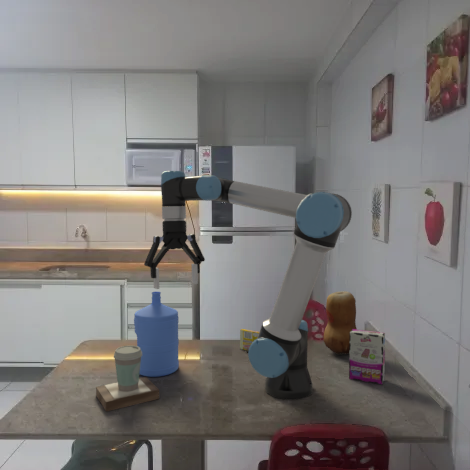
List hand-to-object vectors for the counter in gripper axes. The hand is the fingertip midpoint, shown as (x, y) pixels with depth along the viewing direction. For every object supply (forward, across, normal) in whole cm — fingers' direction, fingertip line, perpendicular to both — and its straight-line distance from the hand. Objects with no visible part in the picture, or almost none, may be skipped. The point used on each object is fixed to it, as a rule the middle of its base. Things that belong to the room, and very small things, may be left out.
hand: (176, 286), depth 138 cm
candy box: (+34, -42, -13) cm, 55 cm away
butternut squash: (+34, -68, +7) cm, 76 cm away
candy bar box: (+35, -56, +30) cm, 72 cm away
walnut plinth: (+33, +17, -2) cm, 37 cm away
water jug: (+33, 0, -18) cm, 37 cm away
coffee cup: (+30, +17, -2) cm, 34 cm away
